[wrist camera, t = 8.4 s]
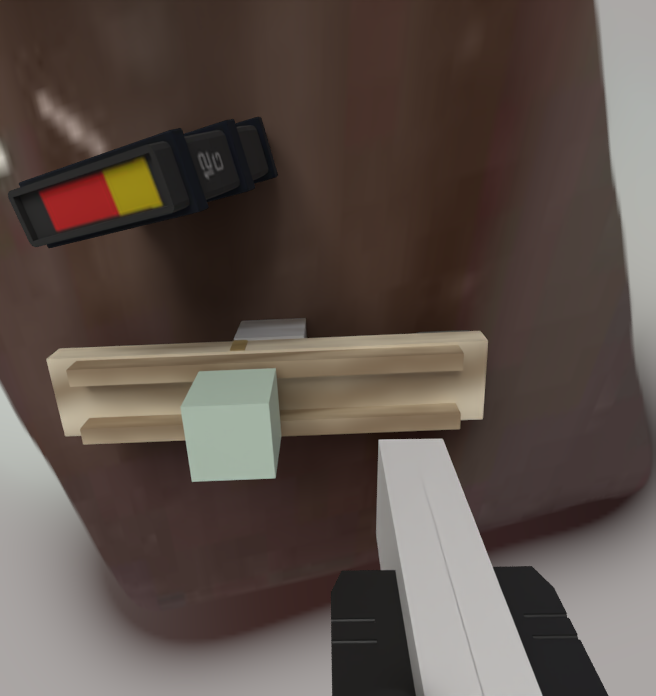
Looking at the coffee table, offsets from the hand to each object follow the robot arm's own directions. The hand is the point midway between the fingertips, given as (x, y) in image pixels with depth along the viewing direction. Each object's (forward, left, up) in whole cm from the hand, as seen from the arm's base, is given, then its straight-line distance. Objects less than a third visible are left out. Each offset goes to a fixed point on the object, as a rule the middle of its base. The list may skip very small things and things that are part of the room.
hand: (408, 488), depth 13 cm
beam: (+9, -6, -30) cm, 32 cm away
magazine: (-6, -12, -30) cm, 33 cm away
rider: (+9, -8, -24) cm, 26 cm away
